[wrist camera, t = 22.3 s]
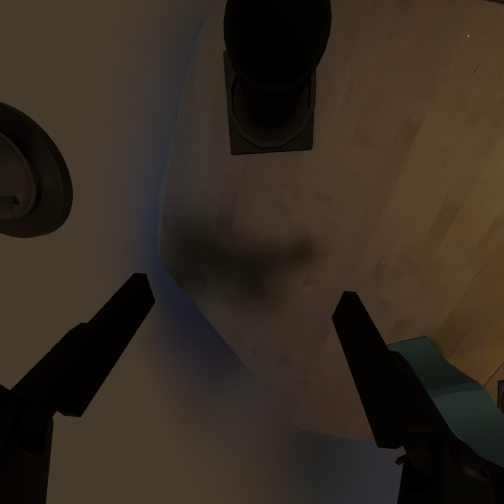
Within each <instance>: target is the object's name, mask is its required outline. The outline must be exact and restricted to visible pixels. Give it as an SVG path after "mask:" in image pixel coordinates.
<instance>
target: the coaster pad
mask: <svg viewBox="0 0 504 504" xmlns="http://www.w3.org/2000/svg"><path fill="white" fill-rule="evenodd" d="M223 55H224V68H225V81H226V95H227V108H228V121H229V134H230V147H231V154H232V155H241V154H256V153H271V152H286V151H301V150H311V149H312V145H313V124H314V107H315V97H316V69H315V71H314V73H313V74H312V76H311V78H310V79H309V81H308V83H307V84H306V86H305V88H304V89H303V91H302V93H301V94H300V96H299V98H298V99H297V101H296V103H295V104H294V106H293V108H292V109H291V111H290V113H289V114H288V116H287V118H286V119H285V120H284V121H283V122H282V123H281V124H279V125H277V126H275V127H264V126H262V125H260V124H259V123H258V122H256V120H255V119H254V118H253V116H252V113H251V111H250V109H249V106H248V104H247V101H246V99H245V96H244V94H243V91H242V89H241V86H240V84H239V81H238V79H237V77H236V74H235V72H234V69H233V67H232V64H231V62H230V59H229V57H228V54H227V51H224V52H223Z"/></svg>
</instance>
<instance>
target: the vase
mask: <svg viewBox="0 0 504 504" xmlns="http://www.w3.org/2000/svg"><path fill="white" fill-rule="evenodd" d="M387 347H388V349H389V351H398V352H399V353H400V354H401V355H402V356H403V357H404V358H405V359H406V360H407V361H408V362H409V363H410V365H411V367H412V368H413V370H414V371H415V373H416V376H417V377H418V378H419V379H420V381H421V383H422V384H423V387H425V389H426V391H427V392H428V394H429V395H430V397H431V399H432V400H433V402H434V403H435V405H436V407H437V408H438V410H439V411H440V413H441V415H442V416H443V418H444V419H445V421H446V423H447V424H448V426H449V427H450V429H451V430H452V432H453V433H454V434H455V435H456V437H457V438H458V439H460V440H462V441H463V442H465V443H466V444H467V445H469V446H470V447H471V448H472V449H473V450H474V451H475V452H476V453H477V454H478V455H479V456H481V457H482V458H484V459H486V460H489V461H491V462H493V463H495V464H497V465H499V466H501V467H504V415H503V413H502V412H501V411H500V409H499V408H498V407H497V405H496V404H495V402H494V401H493V399H492V398H491V397H490V395H489V394H488V392H487V391H486V389H485V388H484V387H483V386H482V385H481V384H479V383H478V382H477V381H475V380H474V379H472V378H470V377H469V376H467V375H466V374H464V373H463V372H461V371H460V370H458V369H457V368H455V367H454V366H453V365H451V364H450V363H449V362H448V361H446V360H445V359H444V358H443V357H442V356H441V355H440V354H439V353H438V352H437V350H436V349H435V348H434V347H433V345H432V344H431V343H430V341H429V340H428V338H427V337H426V336H425V337H420V338H416V339H411V340H406V341H402V342H397V343H393V344H389V345H387Z"/></svg>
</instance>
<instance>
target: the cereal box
mask: <svg viewBox="0 0 504 504" xmlns="http://www.w3.org/2000/svg"><path fill="white" fill-rule="evenodd" d="M498 408H499V409H500V411H501V412H502V413H503V415H504V380H502V381H498Z"/></svg>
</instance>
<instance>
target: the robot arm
mask: <svg viewBox="0 0 504 504" xmlns="http://www.w3.org/2000/svg"><path fill="white" fill-rule="evenodd" d="M40 198H41V183H40V178H39V175H38V172H37V169H36V167H35V165H34V163H33V161H32V160H31V158H30V156H29V155H28V154H27V152H26V151H25V150H24V148H23V147H22V146H21V145H20V144H19V143H18V142H17V141H16V140H15V139H14V138H12V137H11V136H10V135H9V134H7V133H6V132H4V131H2V130H1V129H0V219H12V218H21V217H25V216H27V215H29V214H31V213H32V212H33V211H34V210H35V209H36V208H37V206H38V204H39V201H40ZM154 303H155V300H154V297H153V294H152V291H151V288H150V285H149V282H148V279H147V276H146V274H142V273H134V274H133V275H132V276H131V277H130V278H129V279H128V280H127V281H126V282H125V284H124V285H123V286H122V287H121V288H120V289H119V290H118V291H117V292H116V293H115V294H114V295H113V296H112V297H111V299H110V300H109V301H108V302H107V303H106V304H105V305H104V306H103V307H102V308H101V309H100V310H99V312H98V313H97V314H96V315H95V316H94V317H93V318H92V319H91V320H90V321H89V322H88V323H80V324H79V325H77V326H76V327H75V328H73V329H71V330H70V331H69V332H68V333H67V334H66V335H65V336H64V337H63V338H62V339H61V340H60V341H59V343H57V344H56V345H55V346H54V347H53V348H52V349H51V351H50V352H48V353H47V354H46V355H45V356H44V357H43V358H42V359H41V360H40V361H39V362H38V363H37V364H36V365H35V366H34V367H33V368H32V369H31V370H30V371H29V372H28V373H27V374H26V375H25V376H24V377H23V378H22V379H21V380H20V381H19V382H18V383H17V384H16V385H15V386H14V387H13V388H12V389H11V390H8V389H7V388H5V387H4V386H2V385H0V504H46V496H47V485H48V475H49V465H50V454H51V443H52V433H53V424H54V423H53V418H52V417H53V416H54V414H55V413H56V411H58V412H60V413H61V414H63V415H64V416H74V417H81V416H82V414H83V413H84V411H85V410H86V408H87V407H88V405H89V404H90V402H91V401H92V399H93V397H94V396H95V394H96V393H97V391H98V390H99V388H100V387H101V385H102V384H103V382H104V381H105V379H106V377H107V376H108V374H109V373H110V371H111V370H112V368H113V367H114V365H115V364H116V362H117V360H118V359H119V357H120V356H121V354H122V353H123V351H124V350H125V348H126V347H127V345H128V343H129V342H130V340H131V339H132V337H133V336H134V334H135V333H136V331H137V329H138V328H139V327H140V325H141V323H142V322H143V320H144V319H145V317H146V316H147V314H148V313H149V311H150V310H151V308H152V307H153V305H154ZM332 321H333V323H334V326H335V329H336V332H337V334H338V337H339V340H340V343H341V346H342V348H343V351H344V354H345V357H346V360H347V362H348V365H349V368H350V371H351V374H352V376H353V379H354V382H355V385H356V388H357V390H358V393H359V396H360V399H361V402H362V404H363V407H364V410H365V413H366V416H367V418H368V421H369V424H370V427H371V430H372V432H373V435H374V438H375V441H376V444H377V446H378V447H379V448H389V449H397V448H399V447H401V446H404V449H405V451H406V453H407V454H405V455H403V456H401V457H399V458H397V460H396V462H395V463H396V464H397V465H400V464H402V463H404V464H403V470H402V476H401V483H400V489H399V495H398V502H397V504H504V467H501V466H499V465H497V464H495V463H493V462H491V461H489V460H486V459H484V458H482V457H481V456H479V455H478V454H477V453H476V452H475V451H474V450H473V449H472V448H471V447H470V446H469V445H467V444H466V443H465V442H463V441H462V440H460V439H458V438H457V437H456V435H455V434H454V433H453V432H452V430H451V429H450V427H449V426H448V424H447V423H446V421H445V419H444V418H443V416H442V415H441V413H440V411H439V410H438V408H437V407H436V405H435V403H434V402H433V400H432V399H431V397H430V395H429V394H428V392H427V391H426V389H425V387H423V384H422V383H421V381H420V379H419V378H418V377H417V376H416V373H415V371H414V370H413V368H412V367H411V365H410V363H409V362H408V361H407V360H406V359H405V358H404V357H403V356H402V355H401V354H400V353H399V352H398V351H389V349H388V347H387V346H386V344H385V342H384V340H383V339H382V337H381V335H380V333H379V332H378V330H377V328H376V326H375V325H374V323H373V321H372V319H371V318H370V316H369V314H368V312H367V311H366V309H365V307H364V305H363V304H362V302H361V300H360V298H359V297H358V295H357V293H356V292H351V291H344V292H343V294H342V297H341V299H340V301H339V303H338V305H337V307H336V309H335V312H334V314H333V316H332Z"/></svg>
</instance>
